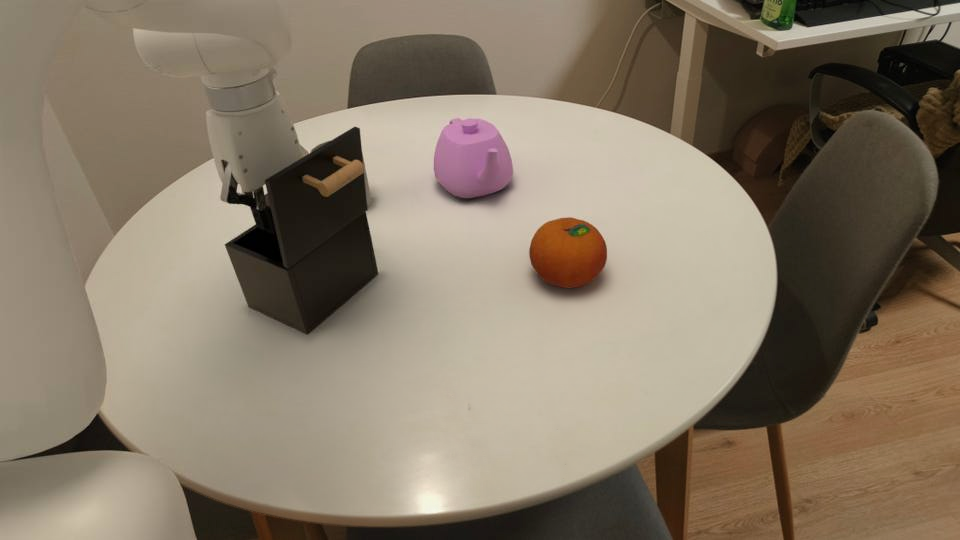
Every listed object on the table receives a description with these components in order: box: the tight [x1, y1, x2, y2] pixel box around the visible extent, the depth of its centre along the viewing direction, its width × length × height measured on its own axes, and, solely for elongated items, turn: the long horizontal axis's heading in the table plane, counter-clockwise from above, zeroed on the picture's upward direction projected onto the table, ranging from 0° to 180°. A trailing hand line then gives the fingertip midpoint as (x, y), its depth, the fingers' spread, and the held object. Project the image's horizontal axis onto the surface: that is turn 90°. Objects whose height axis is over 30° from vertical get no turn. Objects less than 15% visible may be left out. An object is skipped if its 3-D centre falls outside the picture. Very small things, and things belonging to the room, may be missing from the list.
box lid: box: [265, 126, 369, 269], centre depth 75 cm, size 12×15×5 cm
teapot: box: [433, 117, 514, 199], centre depth 106 cm, size 20×13×12 cm, turn 23°
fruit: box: [528, 216, 608, 289], centre depth 86 cm, size 11×10×8 cm
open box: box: [224, 211, 379, 335], centre depth 86 cm, size 12×15×11 cm
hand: (280, 220), depth 84 cm, fingers closed on block, 3 cm apart
